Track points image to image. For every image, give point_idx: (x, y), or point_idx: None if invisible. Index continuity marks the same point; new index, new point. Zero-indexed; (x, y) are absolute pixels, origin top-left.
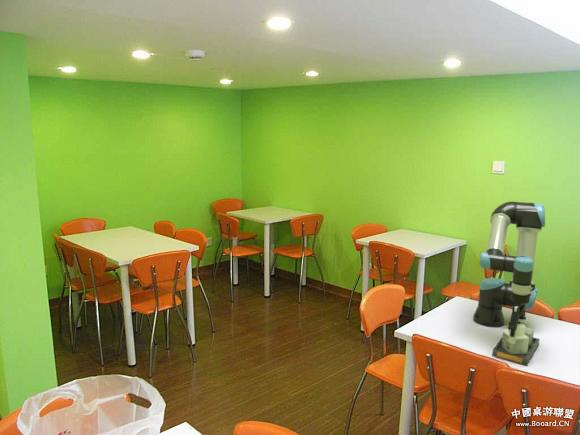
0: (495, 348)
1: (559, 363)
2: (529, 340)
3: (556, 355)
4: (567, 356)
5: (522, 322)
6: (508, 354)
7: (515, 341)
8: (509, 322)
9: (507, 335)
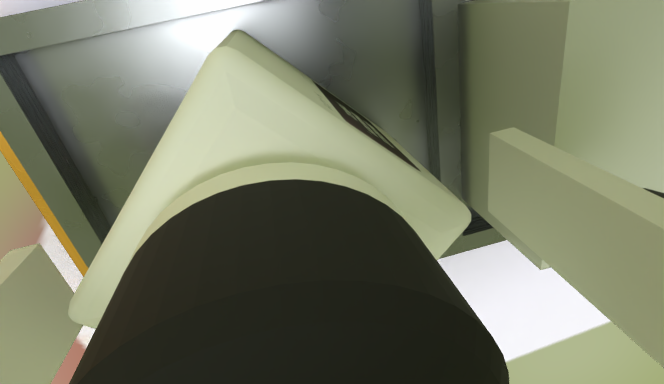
0: (10, 40)
1: None
2: (492, 221)
3: (483, 307)
4: (510, 337)
5: (640, 331)
6: (51, 209)
7: (59, 347)
8: (187, 347)
9: (136, 184)
